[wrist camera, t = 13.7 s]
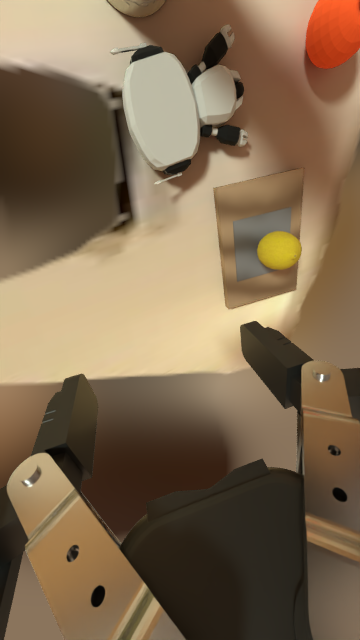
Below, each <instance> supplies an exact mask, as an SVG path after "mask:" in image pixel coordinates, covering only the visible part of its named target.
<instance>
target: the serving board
mask: <svg viewBox="0 0 360 640" xmlns="http://www.w3.org/2000/svg"><path fill="white" fill-rule="evenodd" d="M303 179H304V168H299V169H294V170H290V171H286V172H281V173H277V174H273V175H268V176H264V177H260V178H255V179H251V180H247V181H242V182H238V183H234V184H229V185H225V186H221V187H216V188H213V189H214V199H215V208H216V218H217V228H218V237H219V247H220V256H221V266H222V276H223V285H224V295H225V304H226V307H227V308H228V309H231V308H235V307H238V306H241V305H245V304H248V303H251V302H255V301H258V300H261V299H265V298H268V297H272V296H275V295H278V294H282V293H285V292H288V291H292V290H295V289H296V284H297V269H298V261H297V262H296V263H295V264H294V265H293V266H291V267H289V268H287V269H283V270H277V269H271V268H269V267H266V266H265V265H264V264H263V263H261V261H260V260H259V258H258V255H257V248H258V245H259V242H260V241H261V239H262V238H263V237H264V236H266V235H267V234H269V233H271V232H275V231H284V232H288V233H290V234H292V235H294V236H295V237H296V238H297V239H298V240H299V239H300V224H301V209H302V194H303Z"/></svg>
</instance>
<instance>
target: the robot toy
mask: <svg viewBox="0 0 360 640" xmlns="http://www.w3.org/2000/svg"><path fill="white" fill-rule="evenodd" d="M231 29H232V28H231V26H230V25H228V24H227V25H225V26H224V27H222V28H221V31H220V32H219V33H217V34H216V35H215V36H214V38H213V39H212V40H211V41H210V42H209V44H208V45H207V46H206V48H205V51H204V54H203V58H202V61H201V63H200V64H199V66H197V65H195V66H193V67H192V69H191V70H190V71H189V72H188V73H186V71H185V69H184V67H183V65H182V64H181V62H180V61H179V60H178V59H177V58H176V56H175V55H174V54H171V53H167V52H164V51H163V49H162V48H161V47H158V46H152V45H149V46H147V45H146V43H141V44H140V46H133V47H126V48H120V49H118V48H113V49H112V51H111V52H110V53H112V54H113V55H115V54H118V53H122V52H129V51H135V50H137V51H136V52H135V53H134V54H133V55H132V57H131V61H130V66H129V67H128V68H127V70H126V72H125V77H124V83H123V90H122V92H123V104H124V111H125V115H126V120H127V124H128V129H129V132H130V134H131V136H132V139H133V141H134V143H135V145H136V147H137V149H138V151H139V152H140V154H141V156H142V157H143V159H144V160H145V162H146V163H147V164H148V165H149V166H150V167H152V168H153V169H154V170H159V171H163V173H164V174H166V175H174V174H176V175H174V176H171V177H169V178H166V179H164V180H161V181H158V182H156V183H155V184H159V183H161V182H163V181H166V180H168V179H171V178H173V177H178V176H181V175H182V171H184V170H185V169H186V168H187V167H188V166H189V165H190V164H191V159H192V158H193V156H194V155H195V154H196V153H197V151H198V147H199V143H200V136H202V137H207V138H209V136H210V135H214V136H215V137H216V138H217V139H218V140H219V141H220V143H224V144H228V145H233V146H235V145H236V144H237V145H238V146H239V147H242V146H245V144H246V143H247V140H243V138H248V133H247V132H246V131H244V130H243V129H242V130H240V128H238V127H234V126H230V125H225V126H222V127H219V126H220V125H222V124H223V123H225V122H226V121H228V120H229V119H230V118H231V117H232V116H233V114H234V112H235V110H236V109H237V108H238V107H239V106H240V105H241V104H242V101H243V96H242V95H243V92H244V87H243V84H242V83H241V82H238V81H240V80H241V77H240V75H239V73H238V71H234V70H230V69H228V68H227V67H226V66H224V65H217V64H218V63H219V61H220V60H221V59H222V58H223V57H224V55H225V54H226V52H227V49H228V48H231V46H232V44H233V42H234V39H235V36H234V33H232V34H231V36H230V38H229V36H228V34H227V33H228V32H229V31H230V30H231ZM206 69H208V70H207V71H205V72H204V70H206ZM203 72H204V73H203ZM241 96H242V97H241ZM238 98H239V99H238ZM237 99H238V100H237ZM214 127H219V128H214Z"/></svg>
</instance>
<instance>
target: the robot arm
mask: <svg viewBox="0 0 360 640" xmlns="http://www.w3.org/2000/svg"><path fill="white" fill-rule="evenodd" d="M108 1H109V2H110V3H111V4H112V5H113V6H114V7H115V8H116V9H118V10H119V11H121V12H122V13H124V14H126V15H129V16H132V17H145V16H149V15H151V14H153V13H154V12H156V11H157V10H159V8H160V7H161V6H162V5H163V4H164V2H165V1H166V0H108ZM240 332H241V346H242V353H243V355H244V358H245V359H246V361H247V362H248V363H249V365H250V366H251V367H252V368H253V370H254V371H255V372H256V373H257V375H258V376H259V377H260V378H261V380H262V381H263V382H264V383H265V385H266V386H267V387H268V388H269V390H270V391H271V392H272V393H273V395H274V396H275V397H276V398H277V400H278V401H279V402H280V403H281V405H282V406H283V407H284V408H285V409H286V408H289V407H292V406H294V407H295V408H296V409H297V461H296V472H294V471H291V470H287V469H283V468H275V467H267V466H266V464H265V462H264V461H263V459H260V460H257V461H255V462H252V463H249V464H247V465H244V466H242V467H239V468H237V469H234V470H233V471H232V472H231V473H229V474H228V475H227V476H225V477H224V478H223V479H221V480H220V481H219V482H218V483H216V484H215V485H214V486H212V487H211V488H209V489H205V490H191V491H177V492H174V493H171V494H168V495H166V496H163V497H161V498H158V499H155V500H153V501H150V502H148V503H146V506H147V514H146V515H145V516H144V517H143V518H142V519H141V520H140V521H139V522H137V523H136V525H135V526H134V527H133V528H132V529H131V530H130V532H129V533H128V535H127V536H126V538H125V539H124V541H123V542H122V544H121V543H120V541H119V540H118V539H117V538H116V536H115V535H114V534H113V533H112V531H111V530H110V529H109V528H108V527H107V525H106V524H105V522H104V521H103V520H102V519H101V517H100V516H99V515H98V513H97V512H96V511H95V510H94V508H93V507H92V506H91V504H90V503H89V502H88V501H87V499H86V498H85V497H84V495H83V494H82V493H81V483H82V481H84V480H86V479H89V478H92V471H93V460H94V449H95V437H96V425H97V415H98V403H97V398H96V396H95V394H94V392H93V390H92V388H91V387H90V384H89V383H88V381H87V379H86V377H85V376H84V374H79V375H76V376H72V377H69V378H66V379H65V380H64V383H63V387H62V390H61V392H57V393H56V394H55V395H54V396H53V398H52V399H51V400H50V402H49V403H48V406H47V409H46V412H45V415H44V418H43V421H42V422H43V424H41V427H40V430H39V433H38V436H37V439H36V442H35V445H34V448H33V451H32V454H31V457H29V458H28V459H26V460H25V461H24V462H22V464H20V465H19V466H18V468H17V469H16V470H15V471H14V472H13V474H12V475H11V477H10V479H9V482H8V484H7V485H6V486H4V487H3V488H1V489H0V640H4V636H5V632H6V627H7V623H8V618H9V614H10V609H11V605H12V600H13V596H14V591H15V587H16V582H17V578H18V573H19V569H20V564H21V559H22V555H23V551H25V550H26V552H27V555H28V557H29V560H30V562H31V564H32V567H33V569H34V571H35V573H36V576H37V578H38V581H39V583H40V585H41V587H42V590H43V592H44V594H45V597H46V599H47V601H48V604H49V606H50V608H51V610H52V613H53V615H54V617H55V619H56V622H57V624H58V626H59V629H60V631H61V633H62V635H63V638H64V640H360V368H353V369H339V368H338V367H336V366H335V365H333V364H331V363H328V362H325V361H314V360H313V359H312V358H310V357H309V356H308V355H307V354H306V353H304V352H303V351H301V349H299V348H298V347H297V346H296V345H294V344H293V343H291V341H290V340H288V339H287V338H285V336H284V335H282V334H281V333H280V332H279V331H277V330H274V329H272V328H269V327H267V328H264V327H263V326H261V325H260V324H259V323H258V322H257V321H253V322H250V323H246V324H243V325H241V327H240Z"/></svg>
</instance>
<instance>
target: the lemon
mask: <svg viewBox="0 0 360 640" xmlns="http://www.w3.org/2000/svg"><path fill="white" fill-rule="evenodd" d="M301 251H302V247H301V244H300V242H299V240H298V239H297V238H296V237H295V236H294V235H292V234H290V233H288V232H284V231H275V232H271V233H269V234H267V235H266V236H264V237H263V238H262V239H261V241H260V242H259V245H258V248H257V255H258V258H259V260H260V261H261V263H263V264H264V265H265V266H266V267H269V268H271V269H277V270H283V269H287V268H289V267H291V266H293V265H294V264H295V263H296V262H297V261H298V260H299V258H300V256H301Z"/></svg>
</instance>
